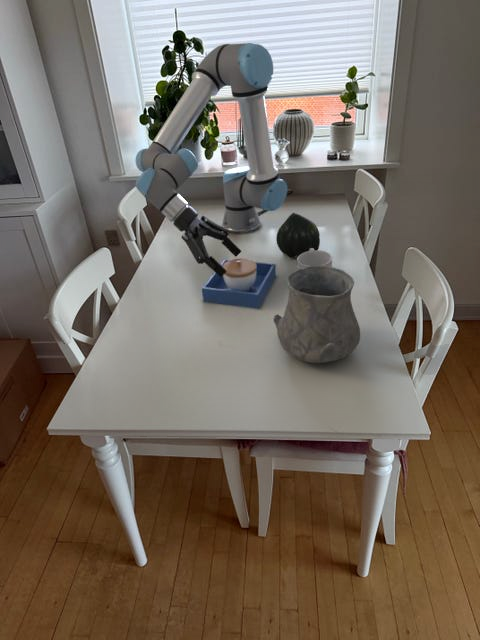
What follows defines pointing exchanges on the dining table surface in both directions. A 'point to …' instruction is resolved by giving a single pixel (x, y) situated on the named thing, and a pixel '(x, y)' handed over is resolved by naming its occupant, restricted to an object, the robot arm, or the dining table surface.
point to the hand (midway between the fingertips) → (231, 264)
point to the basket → (253, 298)
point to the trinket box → (240, 274)
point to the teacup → (314, 259)
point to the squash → (297, 236)
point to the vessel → (318, 315)
